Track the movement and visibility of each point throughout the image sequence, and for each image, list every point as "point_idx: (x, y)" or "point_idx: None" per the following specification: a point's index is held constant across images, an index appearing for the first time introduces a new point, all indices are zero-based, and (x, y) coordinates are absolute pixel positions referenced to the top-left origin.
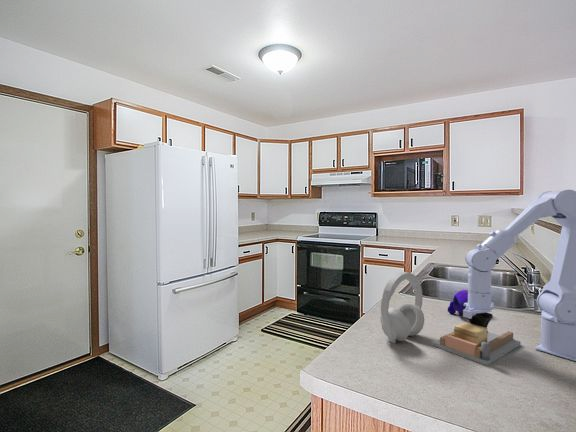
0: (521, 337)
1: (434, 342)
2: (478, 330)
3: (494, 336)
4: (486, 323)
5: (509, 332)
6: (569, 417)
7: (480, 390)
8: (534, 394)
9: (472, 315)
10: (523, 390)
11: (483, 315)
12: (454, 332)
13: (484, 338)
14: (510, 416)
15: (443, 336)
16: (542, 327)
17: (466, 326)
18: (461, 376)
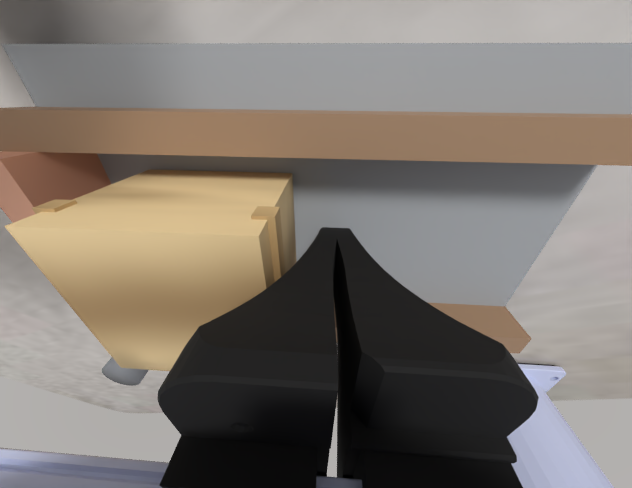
0: (597, 311)
1: (7, 48)
2: (172, 361)
3: (482, 263)
4: (338, 382)
5: (506, 344)
6: (147, 412)
7: (32, 334)
8: (156, 385)
9: (86, 478)
10: (146, 374)
11: (341, 464)
12: (192, 131)
13: None
14: (38, 376)
15: (16, 115)
16: (525, 481)
17: (144, 295)
18: (16, 288)
